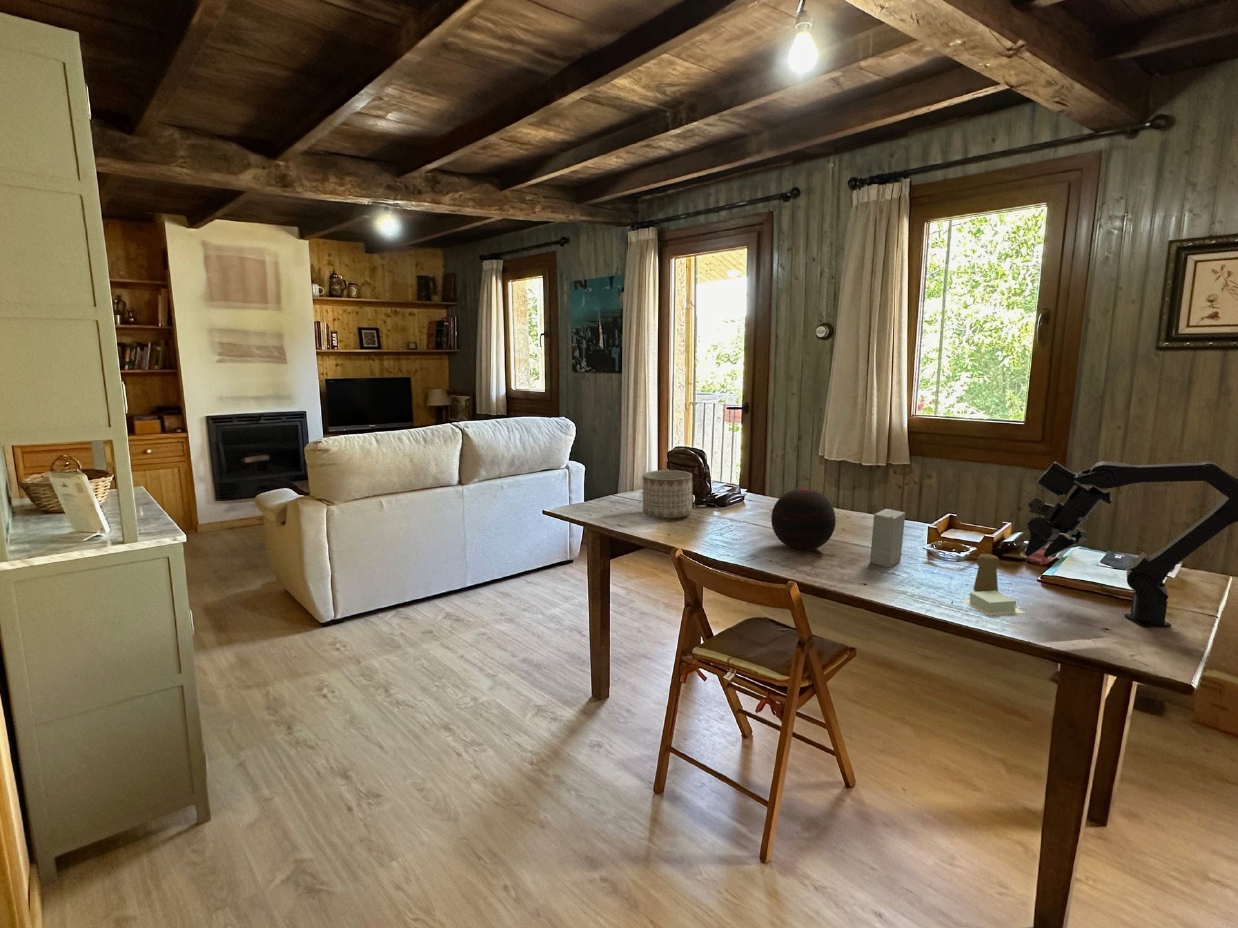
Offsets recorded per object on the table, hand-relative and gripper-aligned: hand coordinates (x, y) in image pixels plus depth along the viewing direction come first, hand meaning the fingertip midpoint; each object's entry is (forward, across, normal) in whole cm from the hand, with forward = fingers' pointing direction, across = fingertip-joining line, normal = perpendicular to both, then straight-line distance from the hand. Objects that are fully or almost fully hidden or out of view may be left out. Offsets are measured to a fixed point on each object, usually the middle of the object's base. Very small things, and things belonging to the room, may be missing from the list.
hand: (1035, 556), depth 168 cm
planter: (+70, +24, -104) cm, 128 cm away
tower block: (+13, +13, +5) cm, 19 cm away
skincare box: (+29, +2, -30) cm, 42 cm away
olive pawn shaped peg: (+16, +3, -2) cm, 16 cm away
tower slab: (+14, +12, +5) cm, 20 cm away
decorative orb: (+42, +13, -50) cm, 67 cm away
